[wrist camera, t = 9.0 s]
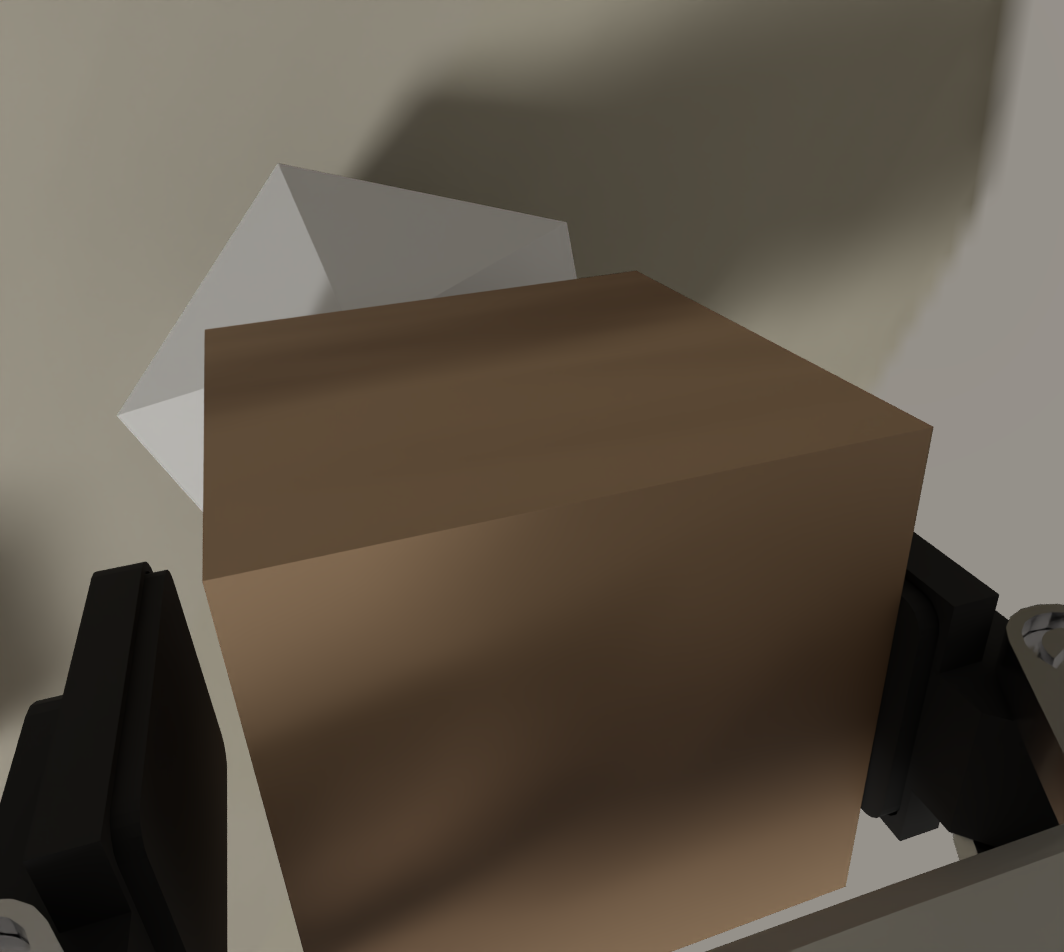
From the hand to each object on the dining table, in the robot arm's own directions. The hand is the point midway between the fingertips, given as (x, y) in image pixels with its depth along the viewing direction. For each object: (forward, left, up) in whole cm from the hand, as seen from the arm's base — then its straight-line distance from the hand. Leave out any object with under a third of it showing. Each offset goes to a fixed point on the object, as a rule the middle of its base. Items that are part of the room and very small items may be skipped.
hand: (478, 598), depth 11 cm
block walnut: (0, 0, -3) cm, 3 cm away
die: (0, 0, -10) cm, 10 cm away
